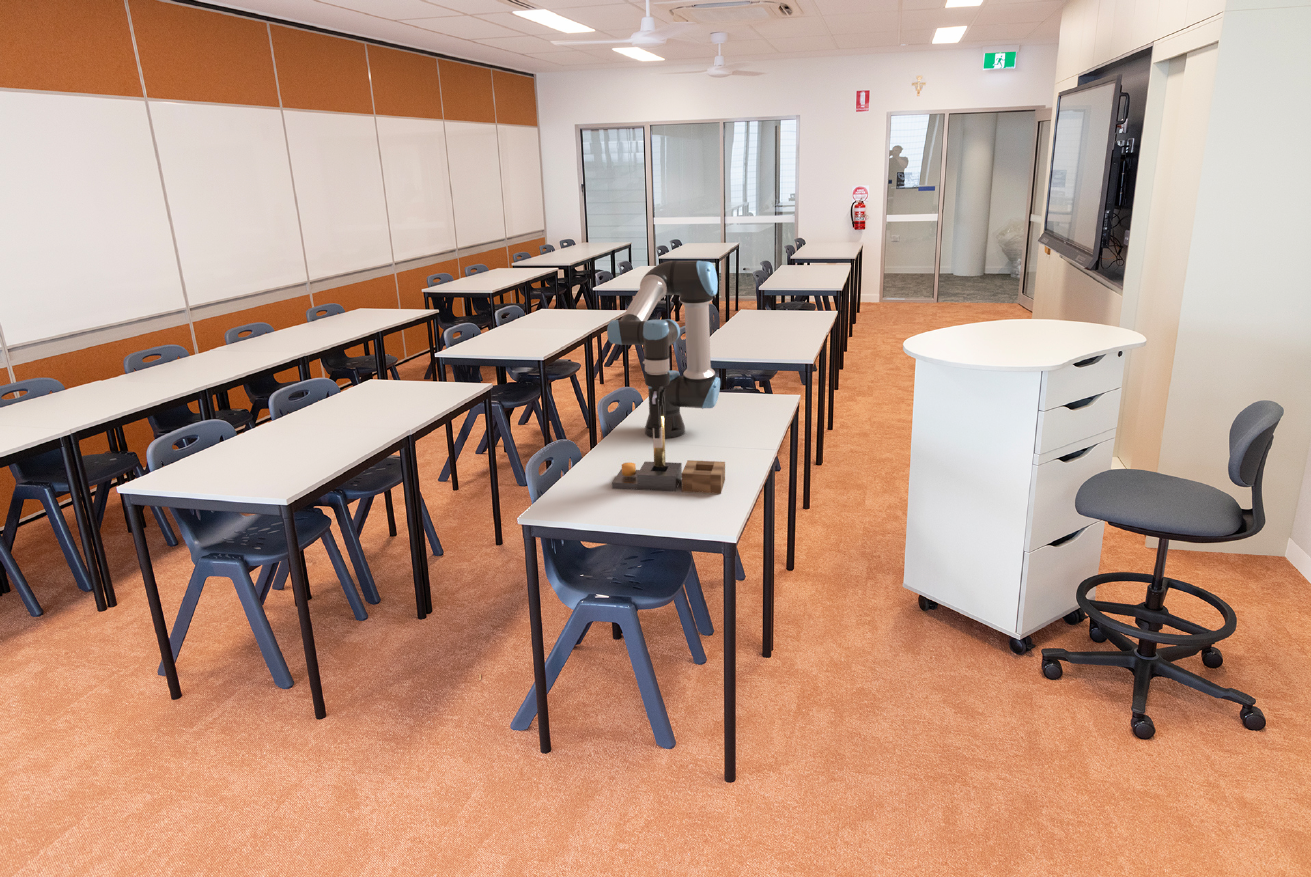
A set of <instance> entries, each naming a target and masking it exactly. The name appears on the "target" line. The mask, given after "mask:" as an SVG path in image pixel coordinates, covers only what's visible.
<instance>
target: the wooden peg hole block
mask: <svg viewBox="0 0 1311 877" xmlns="http://www.w3.org/2000/svg"><path fill="white" fill-rule="evenodd" d="M725 481H726V461H715V460H714V461H713V460H691V459H690V460H687V461H686V463H685V465H684V468H683V469H682V478H681V492H682V493H697V494H698V493H699V494H700V493H703V494H717V495H718V494H722V492H723V487H724V484H725Z"/></svg>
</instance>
